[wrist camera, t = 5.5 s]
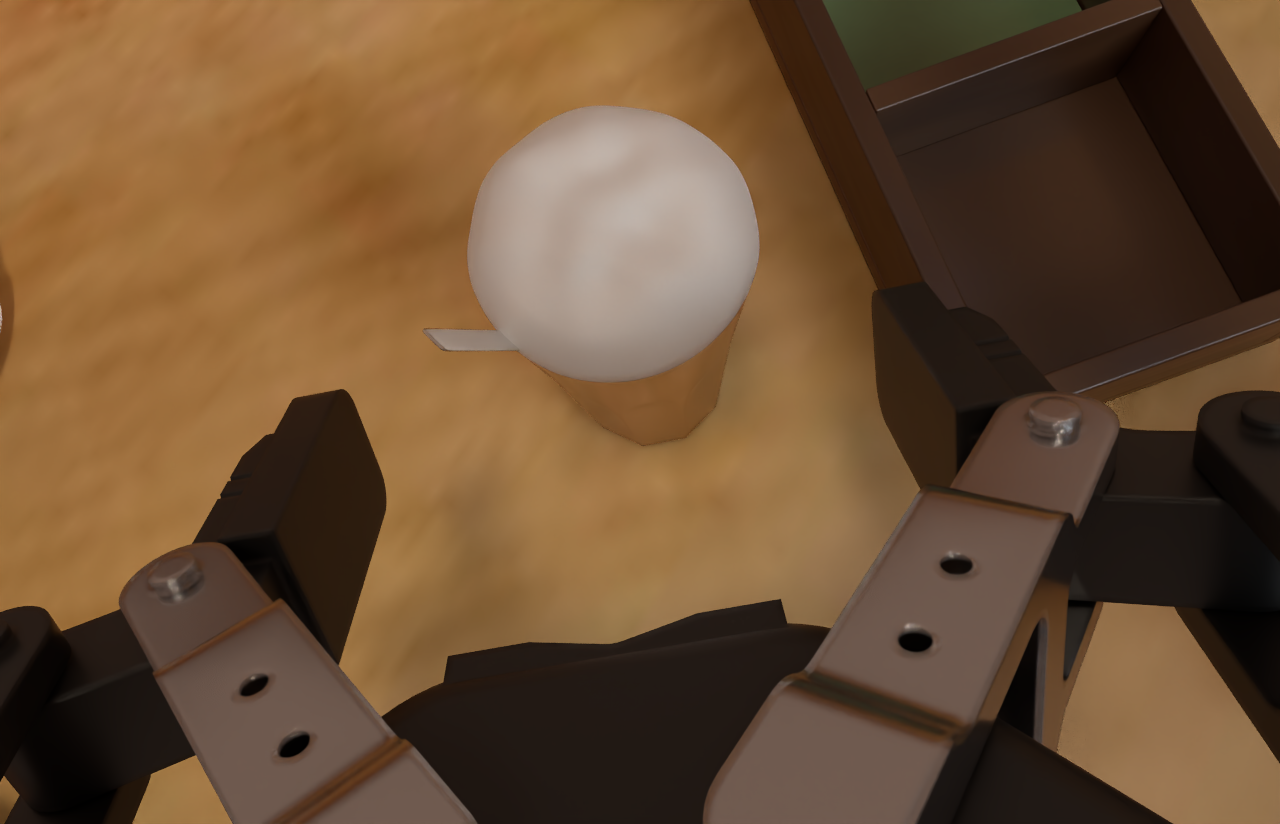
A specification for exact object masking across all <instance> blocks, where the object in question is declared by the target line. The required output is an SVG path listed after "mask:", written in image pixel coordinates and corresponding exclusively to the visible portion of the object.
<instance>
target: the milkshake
mask: <svg viewBox="0 0 1280 824" xmlns="http://www.w3.org/2000/svg"><path fill="white" fill-rule="evenodd" d="M758 259H759V231H758V224H757V219H756V215H755V210H754V206H753V203H752V199H751V196H750V193H749V190H748V187H747V184H746V182H745V180H744V178H743V176H742V174H741V172H740V170H739V169H738V167H737V166H736V164H735V163H734V162H733V161H732V160H731V158H730V157H729V156H728V155H727V154H726V153H725V152H724V151H723V150H722V149H721V148H720V147H718V146H717V145H716V144H715V143H714V142H713V141H711V140H710V139H709V138H708V137H706V136H705V135H704V134H702V133H701V132H699V131H698V130H696V129H695V128H693V127H692V126H690V125H688V124H686V123H685V122H683V121H681V120H679V119H676V118H674V117H671V116H669V115H666V114H663V113H659V112H655V111H650V110H644V109H638V108H629V107H620V106H588V107H582V108H578V109H574V110H571V111H568V112H565V113H562V114H560V115H558V116H556V117H554V118H552V119H550V120H548V121H546V122H545V123H543V124H541V125H540V126H539V127H537V128H536V129H534V130H533V131H532V132H530V133H529V134H528V135H527V136H525V137H524V138H523V139H522V140H521V141H519V142H518V143H517V144H516V145H514V146H513V147H512V148H511V149H509V150H508V151H507V152H506V153H505V154H503V155H502V156H501V157H500V158H499V159H498V160H497V161H496V163H495V164H494V165H493V166H492V168H491V169H490V170H489V172H488V173H487V175H486V177H485V178H484V180H483V182H482V184H481V187H480V189H479V192H478V195H477V199H476V202H475V206H474V211H473V216H472V222H471V228H470V233H469V239H468V249H467V262H468V271H469V276H470V280H471V284H472V287H473V290H474V293H475V295H476V297H477V300H478V302H479V304H480V306H481V307H482V309H483V311H484V313H485V314H486V316H487V318H488V319H489V321H490V322H491V323H492V325H493V326H494V327H495V329H496V330H472V329H438V328H424V329H423V333H424V334H425V335H426V336H427V337H428V338H429V339H430V340H431V341H432V342H434V343H435V344H436V345H437V346H438V347H439V348H440V349H441V350H443V351H518V352H519V353H521V354H522V355H523V356H524V357H525V358H527V359H528V360H529V361H530V362H532V363H533V364H534V365H535V366H537V367H538V368H539V369H540V370H542V371H543V372H544V373H545V374H547V375H548V376H549V377H550V378H552V379H553V380H554V381H555V382H556V383H557V384H558V385H559V386H560V387H561V388H562V389H563V390H564V391H565V392H566V393H567V394H568V395H569V396H570V397H571V398H573V399H574V400H575V401H576V402H577V403H578V404H579V405H580V406H581V407H582V408H583V409H584V410H585V411H586V412H587V413H588V414H589V415H590V416H591V417H592V418H593V419H594V420H595V421H596V422H598V423H599V424H600V425H601V426H602V427H603V428H605V429H607V430H609V431H611V432H613V433H616V434H618V435H620V436H622V437H624V438H626V439H628V440H631V441H633V442H635V443H637V444H639V445H641V446H646V445H651V444H656V443H661V442H667V441H672V440H678V439H683V438H686V437H687V436H688V435H689V434H690V433H691V432H692V431H693V430H694V429H695V428H696V426H697V425H698V424H699V423H700V422H701V421H702V420H703V419H704V418H705V417H706V416H707V415H708V414H709V413H710V412H711V411H712V410H713V409H714V408H715V407H716V404H717V400H718V395H719V391H720V387H721V382H722V378H723V374H724V369H725V365H726V361H727V357H728V352H729V349H730V345H731V342H732V339H733V335H734V332H735V329H736V327H737V324H738V321H739V318H740V315H741V312H742V309H743V306H744V303H745V300H746V297H747V294H748V292H749V289H750V287H751V284H752V282H753V279H754V276H755V272H756V268H757V264H758Z"/></svg>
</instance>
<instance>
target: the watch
mask: <svg viewBox="0 0 1280 824" xmlns="http://www.w3.org/2000/svg"><path fill="white" fill-rule="evenodd" d="M1 326H2V311H1V305H0V332H1Z"/></svg>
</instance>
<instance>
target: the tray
mask: <svg viewBox="0 0 1280 824" xmlns="http://www.w3.org/2000/svg"><path fill="white" fill-rule="evenodd" d="M750 2H751V4H752V7H753V9H754V11H755V13H756V15H757V18H758V20H759V22H760V24H761V27H762V29H763V31H764V33H765V36H766V38H767V40H768V42H769V45H770V47H771V49H772V51H773V53H774V56H775V58H776V60H777V62H778V65H779V67H780V69H781V71H782V74H783V76H784V78H785V80H786V83H787V85H788V87H789V89H790V91H791V94H792V96H793V98H794V100H795V103H796V105H797V107H798V109H799V112H800V114H801V116H802V118H803V121H804V123H805V125H806V127H807V129H808V132H809V134H810V136H811V138H812V141H813V143H814V145H815V147H816V150H817V152H818V154H819V156H820V159H821V161H822V163H823V165H824V167H825V170H826V172H827V174H828V176H829V179H830V181H831V183H832V185H833V188H834V190H835V192H836V194H837V197H838V199H839V201H840V203H841V205H842V208H843V210H844V212H845V214H846V217H847V219H848V221H849V223H850V226H851V228H852V230H853V232H854V235H855V237H856V239H857V241H858V243H859V246H860V248H861V250H862V252H863V255H864V257H865V259H866V261H867V264H868V266H869V268H870V270H871V273H872V275H873V277H874V279H875V281H876V284H877V286H878V288H879V290H881V289H886V288H891V287H897V286H902V285H907V284H913V283H918V282H926V283H927V284H928V285H929V286H930V288H931V289H932V290H933V292H934V293H935V294H936V295H937V297H938V298H939V299H940V300H941V302H942V303H943V304H944V305H945V307H946V308H947V309H948V310H949V309H955V308H960V307H969V308H971V309H973V310H975V311H978V312H980V313H982V314H984V315H986V316H989V317H991V318H993V319H994V320H995V321H996V322H997V323H998V324H999V325H1000V326H1001V328H1002V329H1003V330H1004V331H1005V332H1006V333H1007V334H1008V336H1009V340H1011V339H1012V340H1013V341H1014V342H1015V344H1016V345H1017V346H1018V347H1019V348H1020V349H1021V353H1022V354H1025V355H1026V356H1027V357H1028V358H1029V360H1030V361H1031V362H1032V363H1033V364H1034V365H1035V366H1036V367H1037V369H1038V370H1039V371H1040V372H1041V373H1042V374H1043V375H1044V377H1045V378H1046V379H1047V380H1048V381H1049V382H1050V383H1051V385H1052V386H1053V387H1054V388H1055V389H1056V390H1057V391H1061V392H1070V393H1076V394H1081V395H1084V396H1088V397H1091V398H1093V399H1096V400H1098V401H1100V402H1102V403H1104V402H1107V401H1109V400H1112V399H1115V398H1118V397H1120V396H1123V395H1126V394H1129V393H1131V392H1134V391H1137V390H1140V389H1143V388H1145V387H1148V386H1151V385H1154V384H1156V383H1159V382H1162V381H1165V380H1167V379H1170V378H1173V377H1176V376H1179V375H1181V374H1184V373H1187V372H1190V371H1192V370H1195V369H1198V368H1201V367H1203V366H1206V365H1209V364H1212V363H1214V362H1217V361H1220V360H1223V359H1226V358H1228V357H1231V356H1234V355H1237V354H1239V353H1242V352H1245V351H1248V350H1250V349H1253V348H1256V347H1259V346H1262V345H1264V344H1267V343H1270V342H1273V341H1275V340H1276V339H1278V338H1280V149H1279V147H1278V145H1277V144H1276V142H1275V140H1274V139H1273V137H1272V135H1271V133H1270V132H1269V130H1268V128H1267V127H1266V125H1265V123H1264V122H1263V120H1262V118H1261V117H1260V115H1259V113H1258V112H1257V110H1256V108H1255V107H1254V105H1253V103H1252V102H1251V100H1250V98H1249V97H1248V95H1247V93H1246V92H1245V90H1244V88H1243V87H1242V85H1241V83H1240V82H1239V80H1238V78H1237V76H1236V75H1235V73H1234V71H1233V70H1232V68H1231V66H1230V65H1229V63H1228V61H1227V60H1226V58H1225V56H1224V55H1223V53H1222V51H1221V50H1220V48H1219V46H1218V45H1217V43H1216V41H1215V40H1214V38H1213V36H1212V35H1211V33H1210V31H1209V30H1208V28H1207V26H1206V24H1205V23H1204V21H1203V19H1202V18H1201V16H1200V14H1199V13H1198V11H1197V9H1196V8H1195V6H1194V4H1193V3H1192V1H1191V0H750Z"/></svg>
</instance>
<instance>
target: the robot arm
mask: <svg viewBox="0 0 1280 824" xmlns="http://www.w3.org/2000/svg"><path fill="white" fill-rule="evenodd" d="M872 321H873V337H874V354H875V370H876V384H877V393H878V398H879V403H880V407H881V411H882V414H883V418H884V420H885V423H886V425H887V427H888V429H889V430H890V432H891V434H892V436H893V438H894V440H895V442H896V444H897V446H898V448H899V449H900V451H901V453H902V455H903V457H904V459H905V461H906V463H907V465H908V466H909V468H910V470H911V472H912V474H913V476H914V478H915V480H916V482H917V484H918V485H919V487H920V489H921V490H920V491H919V492H918V494H917V495H916V497H915V498H914V500H913V502H912V503H911V505H910V506H909V508H908V509H907V511H906V512H905V514H904V516H903V517H902V519H901V520H900V522H899V523H898V525H897V527H896V528H895V530H894V531H893V533H892V534H891V536H890V538H889V539H888V541H887V542H886V544H885V545H884V547H883V549H882V550H881V552H880V553H879V555H878V556H877V558H876V559H875V561H874V563H873V564H872V566H871V567H870V569H869V570H868V572H867V574H866V575H865V577H864V578H863V580H862V581H861V583H860V585H859V586H858V588H857V589H856V591H855V592H854V594H853V595H852V597H851V599H850V600H849V602H848V603H847V605H846V606H845V608H844V610H843V611H842V613H841V614H840V616H839V617H838V619H837V621H836V622H835V624H834V625H833V627H832V628H831V629H830V628H826V627H821V626H814V625H806V624H791V623H787V621H786V617H785V613H784V610H783V606H782V602H781V599H778V600H772V601H767V602H761V603H755V604H749V605H743V606H737V607H732V608H726V609H720V610H714V611H708V612H702V613H697V614H695V615H692V616H689V617H686V618H684V619H681V620H678V621H676V622H673V623H670V624H667V625H665V626H662V627H659V628H657V629H654V630H651V631H649V632H646V633H643V634H640V635H638V636H635V637H632V638H630V639H627V640H624V641H621V642H618V643H613V644H575V643H536V642H527V643H522V644H516V645H510V646H504V647H498V648H492V649H487V650H481V651H475V652H469V653H463V654H457V655H452V656H448V659H447V664H446V670H445V676H444V682H443V683H441V684H438V685H436V686H433V687H431V688H429V689H427V690H425V691H423V692H421V693H419V694H416V695H415V696H413V697H411V698H409V699H408V700H406V701H404V702H403V703H401V704H399V705H398V706H396V707H395V708H393V709H392V710H390V711H389V712H388V713H386V714H385V715H383V716H382V717H380V715H379V714H378V713H377V712H376V711H375V709H374V708H373V707H372V706H371V705H370V703H369V702H368V701H367V700H366V699H365V697H364V696H363V695H362V694H361V693H360V691H359V690H358V689H357V688H356V687H355V685H354V684H353V683H352V682H351V681H350V679H349V678H348V677H347V676H346V675H345V673H344V672H343V671H342V670H341V669H340V667H339V666H338V665H339V662H340V659H341V656H342V653H343V649H344V646H345V643H346V640H347V636H348V633H349V630H350V626H351V623H352V620H353V617H354V613H355V610H356V607H357V604H358V600H359V597H360V594H361V590H362V587H363V584H364V581H365V577H366V574H367V571H368V567H369V564H370V561H371V558H372V554H373V551H374V548H375V545H376V541H377V538H378V535H379V531H380V528H381V525H382V522H383V518H384V515H385V511H386V489H385V483H384V479H383V475H382V472H381V470H380V467H379V465H378V462H377V459H376V457H375V454H374V452H373V449H372V447H371V444H370V442H369V439H368V437H367V434H366V431H365V429H364V426H363V424H362V421H361V419H360V416H359V414H358V411H357V409H356V406H355V404H354V401H353V399H352V398H351V396H350V395H349V393H348V392H347V391H345V390H343V389H340V390H335V391H329V392H324V393H319V394H313V395H308V396H303V397H297V398H294V399H293V400H292V401H291V403H290V405H289V407H288V409H287V410H286V412H285V414H284V416H283V418H282V420H281V422H280V423H279V425H278V427H277V429H276V431H275V433H274V434H269V435H266V436H264V437H263V438H262V439H261V440H260V441H259V442H258V443H257V444H255V445H254V446H253V447H252V448H251V449H250V450H249V451H248V452H246V453H245V454H244V455H243V456H242V458H241V459H240V461H239V463H238V465H237V466H236V468H235V470H234V472H233V473H232V475H231V477H230V478H231V481H228V482H227V484H226V486H225V487H224V489H223V491H222V493H221V494H220V495H221V499H218V500H217V501H216V503H215V505H214V507H213V508H212V510H211V512H210V514H209V515H208V517H207V519H206V520H205V522H204V524H203V526H202V527H201V529H200V531H199V533H198V534H197V536H196V538H195V540H194V541H193V543H192V544H190V545H187V546H184V547H180V548H178V549H175V550H173V551H170V552H168V553H166V554H164V555H162V556H160V557H158V558H157V559H155V560H153V561H152V562H150V563H149V564H147V565H146V566H144V567H143V568H142V569H141V570H139V571H138V572H137V573H136V574H135V575H134V576H133V577H132V578H131V579H130V580H129V581H128V582H127V584H126V585H125V586H124V588H123V590H122V592H121V594H120V597H119V606H120V609H119V610H117V611H115V612H112V613H109V614H107V615H104V616H101V617H99V618H96V619H93V620H91V621H88V622H86V623H83V624H80V625H78V626H75V627H72V628H70V629H67V630H64V631H62V632H61V630H60V629H59V628H58V626H57V625H56V623H55V622H54V620H53V619H52V617H51V616H50V614H49V613H48V612H47V611H46V610H45V609H43V608H40V607H36V606H23V607H17V608H13V609H9V610H5V611H2V612H0V781H1V780H2V778H3V776H5V777H6V779H7V780H8V781H9V782H10V784H11V785H12V786H13V787H14V789H15V790H16V791H17V792H18V794H19V795H20V796H19V798H18V799H17V801H16V803H15V805H14V807H13V809H12V810H11V812H10V814H9V816H8V818H7V820H6V822H5V823H4V824H132V822H133V820H134V818H135V815H136V813H137V810H138V808H139V805H140V803H141V800H142V798H143V795H144V793H145V791H146V788H147V786H148V783H149V780H150V776H151V774H152V773H154V772H157V771H159V770H161V769H164V768H166V767H169V766H171V765H173V764H176V763H178V762H180V761H183V760H185V759H187V758H190V757H192V756H195V755H196V756H197V758H198V760H199V761H200V763H201V765H202V767H203V769H204V771H205V773H206V775H207V776H208V778H209V780H210V782H211V784H212V786H213V788H214V789H215V791H216V793H217V795H218V797H219V799H220V801H221V802H222V804H223V806H224V808H225V810H226V812H227V814H228V815H229V817H230V819H231V821H232V823H233V824H1173V823H1171V822H1169V821H1168V820H1166V819H1164V818H1163V817H1161V816H1159V815H1158V814H1156V813H1154V812H1153V811H1151V810H1150V809H1148V808H1146V807H1145V806H1143V805H1141V804H1140V803H1138V802H1136V801H1135V800H1133V799H1131V798H1130V797H1128V796H1126V795H1125V794H1123V793H1121V792H1120V791H1118V790H1117V789H1115V788H1113V787H1112V786H1110V785H1108V784H1107V783H1105V782H1103V781H1102V780H1100V779H1098V778H1097V777H1095V776H1093V775H1092V774H1090V773H1089V772H1087V771H1085V770H1084V769H1082V768H1080V767H1079V766H1077V765H1075V764H1074V763H1072V762H1070V761H1069V760H1067V759H1065V758H1064V757H1062V756H1061V755H1059V754H1057V753H1056V752H1057V747H1058V742H1059V736H1060V731H1061V726H1062V721H1063V717H1064V714H1065V710H1066V707H1067V704H1068V701H1069V699H1070V696H1071V693H1072V690H1073V688H1074V685H1075V682H1076V679H1077V677H1078V674H1079V671H1080V668H1081V665H1082V663H1083V660H1084V657H1085V654H1086V652H1087V649H1088V646H1089V643H1090V641H1091V638H1092V635H1093V632H1094V630H1095V627H1096V624H1097V621H1098V619H1099V616H1100V613H1101V610H1102V607H1103V602H1111V603H1126V604H1141V605H1157V606H1172V607H1175V609H1176V611H1177V613H1178V614H1179V616H1180V617H1181V619H1182V620H1183V622H1184V623H1185V625H1186V626H1187V628H1188V629H1189V631H1190V632H1191V633H1192V635H1193V636H1194V638H1195V639H1196V641H1197V642H1198V644H1199V645H1200V647H1201V648H1202V650H1203V651H1204V653H1205V654H1206V656H1207V657H1208V658H1209V660H1210V661H1211V663H1212V664H1213V666H1214V667H1215V669H1216V670H1217V672H1218V673H1219V675H1220V676H1221V678H1222V679H1223V681H1224V682H1225V683H1226V685H1227V686H1228V688H1229V689H1230V691H1231V692H1232V694H1233V695H1234V697H1235V698H1236V700H1237V701H1238V703H1239V704H1240V706H1241V707H1242V708H1243V710H1244V711H1245V713H1246V714H1247V716H1248V717H1249V719H1250V720H1251V722H1252V723H1253V725H1254V726H1255V728H1256V729H1257V731H1258V732H1259V733H1260V735H1261V736H1262V738H1263V739H1264V741H1265V742H1266V744H1267V745H1268V747H1269V748H1270V750H1271V751H1272V753H1273V754H1274V756H1275V757H1276V758H1277V760H1278V761H1279V763H1280V392H1274V391H1241V392H1234V393H1229V394H1225V395H1222V396H1218V397H1216V398H1214V399H1212V400H1210V401H1209V402H1207V403H1206V404H1204V406H1203V407H1202V408H1201V409H1200V412H1199V414H1198V421H1197V428H1196V431H1147V430H1132V429H1124V428H1119V427H1120V425H1119V419H1118V417H1117V415H1116V414H1115V413H1114V412H1113V410H1112V409H1111V408H1109V407H1108V406H1107V405H1105V404H1103V403H1102V402H1100V401H1098V400H1096V399H1093V398H1091V397H1088V396H1084V395H1081V394H1076V393H1070V392H1061V391H1057V390H1056V389H1055V388H1054V387H1053V386H1052V385H1051V383H1050V382H1049V381H1048V380H1047V379H1046V378H1045V377H1044V375H1043V374H1042V373H1041V372H1040V371H1039V370H1038V369H1037V367H1036V366H1035V365H1034V364H1033V363H1032V362H1031V361H1030V360H1029V358H1028V357H1027V356H1026V355H1025V354H1022V353H1021V349H1020V348H1019V347H1018V346H1017V345H1016V344H1015V342H1014V341H1013V340H1012V339H1011V340H1009V336H1008V334H1007V333H1006V332H1005V331H1004V330H1003V329H1002V328H1001V326H1000V325H999V324H998V323H997V322H996V321H995V320H994V319H993V318H991V317H989V316H986V315H984V314H982V313H980V312H978V311H975V310H973V309H971V308H969V307H960V308H955V309H949V310H948V309H947V308H946V307H945V305H944V304H943V303H942V302H941V300H940V299H939V298H938V297H937V295H936V294H935V293H934V292H933V290H932V289H931V288H930V286H929V285H928V284H927V283H926V282H918V283H913V284H907V285H902V286H897V287H891V288H886V289H881V290H875V291H874V292H873V295H872Z"/></svg>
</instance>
